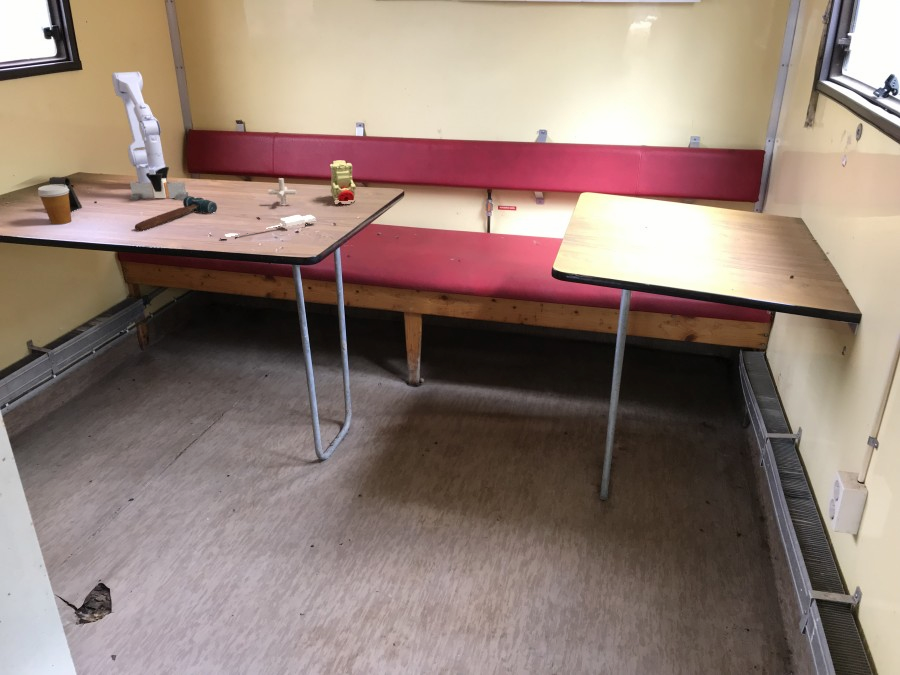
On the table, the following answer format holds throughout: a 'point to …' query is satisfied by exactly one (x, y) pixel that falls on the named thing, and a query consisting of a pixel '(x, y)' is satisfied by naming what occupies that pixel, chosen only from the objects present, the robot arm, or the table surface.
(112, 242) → the table surface
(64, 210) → the disposable coffee cup
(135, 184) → the grey and orange bar
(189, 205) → the hammer
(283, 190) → the pipe connector
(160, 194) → the clip
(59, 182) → the phone stand
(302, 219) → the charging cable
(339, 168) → the mechanical component
